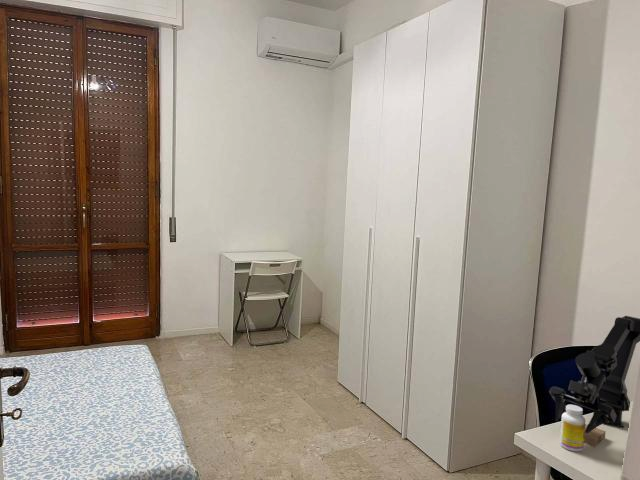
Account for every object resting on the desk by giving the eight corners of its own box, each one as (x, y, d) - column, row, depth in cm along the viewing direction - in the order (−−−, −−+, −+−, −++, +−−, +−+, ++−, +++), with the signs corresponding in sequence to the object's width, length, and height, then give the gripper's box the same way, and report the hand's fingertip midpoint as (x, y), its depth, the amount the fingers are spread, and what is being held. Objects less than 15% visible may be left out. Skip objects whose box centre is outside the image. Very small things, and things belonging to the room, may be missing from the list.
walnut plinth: (577, 428, 158) (578, 421, 158) (604, 438, 152) (605, 431, 152) (567, 436, 153) (567, 428, 153) (595, 447, 147) (595, 439, 146)
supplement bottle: (586, 453, 143) (589, 413, 141) (563, 450, 144) (566, 411, 143) (578, 442, 149) (582, 404, 148) (556, 439, 150) (559, 401, 149)
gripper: (554, 362, 154) (533, 402, 149) (615, 381, 139) (595, 426, 134) (564, 380, 159) (544, 419, 154) (624, 400, 144) (605, 444, 139)
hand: (570, 426), depth 145 cm, fingers open, 9 cm apart
